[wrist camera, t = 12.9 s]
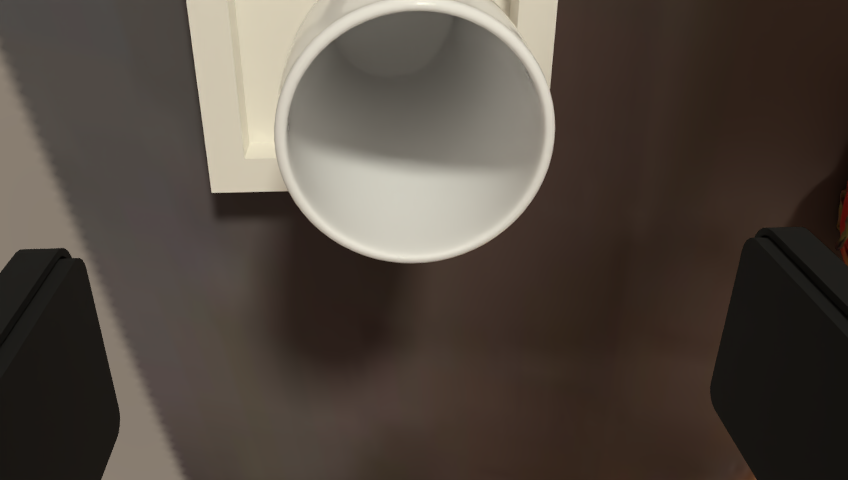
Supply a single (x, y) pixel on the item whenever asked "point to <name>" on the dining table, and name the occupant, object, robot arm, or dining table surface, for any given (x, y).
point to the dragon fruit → (843, 225)
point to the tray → (261, 73)
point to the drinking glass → (412, 125)
